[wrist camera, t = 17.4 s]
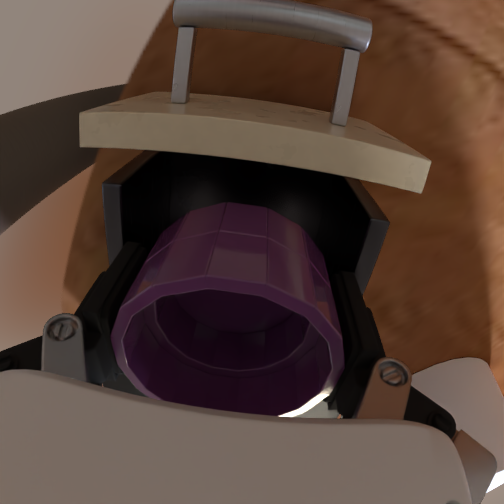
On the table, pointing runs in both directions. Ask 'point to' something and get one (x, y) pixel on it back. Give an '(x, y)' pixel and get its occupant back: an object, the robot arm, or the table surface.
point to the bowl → (232, 315)
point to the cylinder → (469, 402)
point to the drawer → (254, 144)
